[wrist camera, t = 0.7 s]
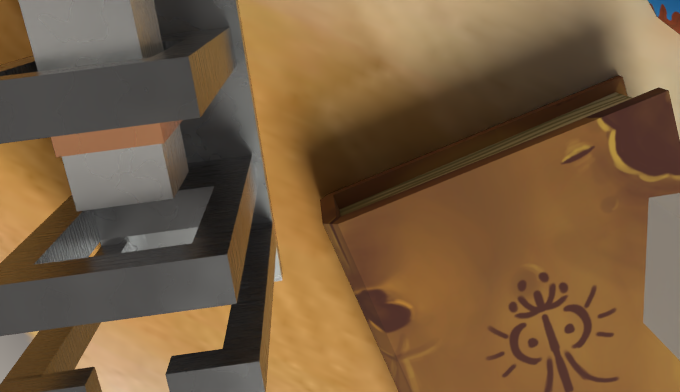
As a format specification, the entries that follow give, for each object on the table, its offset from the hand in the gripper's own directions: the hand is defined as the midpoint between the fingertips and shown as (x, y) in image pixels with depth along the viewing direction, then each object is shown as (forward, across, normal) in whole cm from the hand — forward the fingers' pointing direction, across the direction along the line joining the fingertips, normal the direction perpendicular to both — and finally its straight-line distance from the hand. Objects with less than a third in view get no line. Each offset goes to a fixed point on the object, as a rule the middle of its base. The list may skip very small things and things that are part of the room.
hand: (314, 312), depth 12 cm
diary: (+25, +12, -16) cm, 32 cm away
